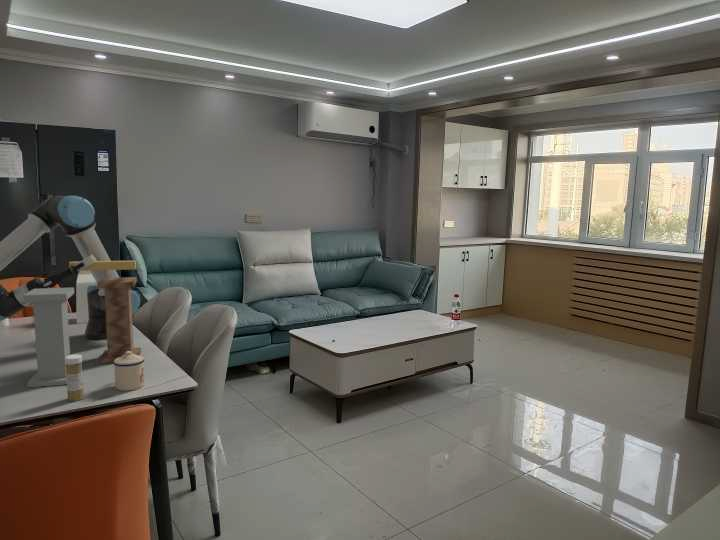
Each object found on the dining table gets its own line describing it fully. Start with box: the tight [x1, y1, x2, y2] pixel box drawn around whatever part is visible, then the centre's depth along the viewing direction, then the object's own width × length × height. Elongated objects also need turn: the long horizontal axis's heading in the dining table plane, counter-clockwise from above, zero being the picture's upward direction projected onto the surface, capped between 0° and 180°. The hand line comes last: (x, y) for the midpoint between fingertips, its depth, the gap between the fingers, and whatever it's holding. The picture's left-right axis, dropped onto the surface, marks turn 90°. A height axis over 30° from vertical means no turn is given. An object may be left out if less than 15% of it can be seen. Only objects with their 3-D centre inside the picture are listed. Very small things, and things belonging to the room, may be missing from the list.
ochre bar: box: [68, 260, 137, 271], centre depth 193 cm, size 22×3×3 cm, turn 108°
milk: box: [75, 270, 97, 324], centre depth 255 cm, size 12×12×26 cm
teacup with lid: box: [113, 351, 145, 392], centre depth 171 cm, size 12×9×12 cm
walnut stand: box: [97, 276, 142, 365], centre depth 197 cm, size 13×13×30 cm
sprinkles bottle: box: [65, 354, 85, 402], centre depth 158 cm, size 5×5×14 cm
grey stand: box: [23, 287, 75, 388], centre depth 173 cm, size 13×13×30 cm
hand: (93, 258), depth 192 cm, fingers closed on ochre bar, 3 cm apart
